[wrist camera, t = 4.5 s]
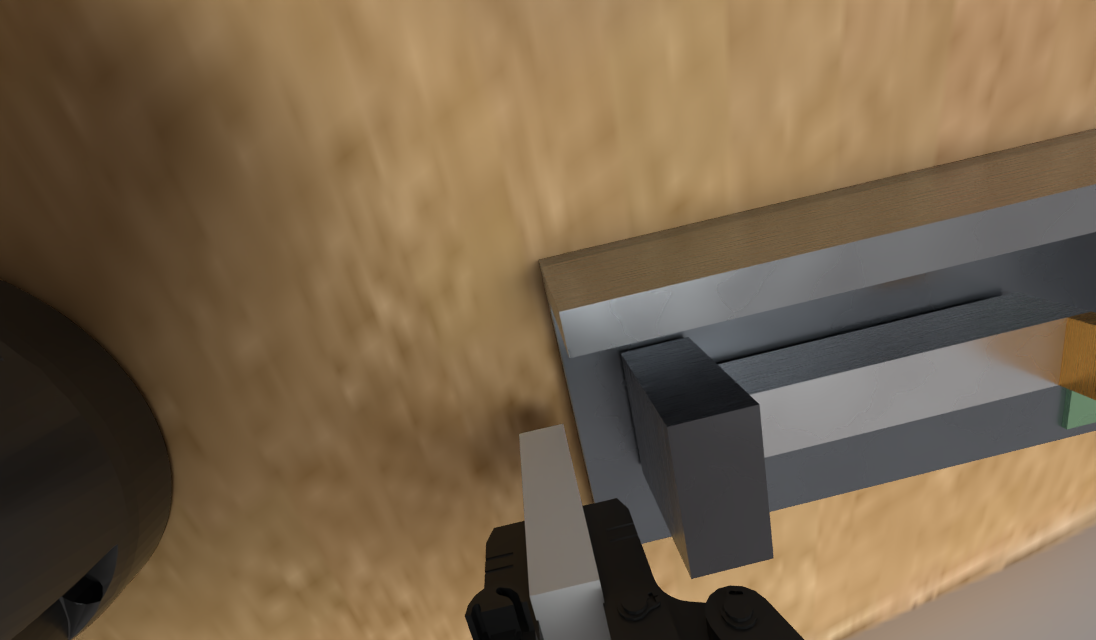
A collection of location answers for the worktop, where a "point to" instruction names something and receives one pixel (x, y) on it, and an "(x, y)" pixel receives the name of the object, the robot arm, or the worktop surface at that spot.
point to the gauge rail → (834, 307)
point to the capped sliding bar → (827, 405)
